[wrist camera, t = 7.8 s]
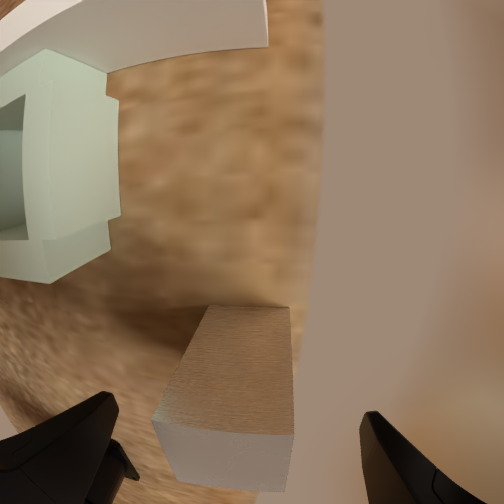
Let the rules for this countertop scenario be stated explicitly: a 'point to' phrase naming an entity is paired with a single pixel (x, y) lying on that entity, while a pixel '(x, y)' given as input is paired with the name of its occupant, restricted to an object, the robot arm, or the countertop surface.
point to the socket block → (55, 167)
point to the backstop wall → (129, 30)
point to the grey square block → (232, 402)
